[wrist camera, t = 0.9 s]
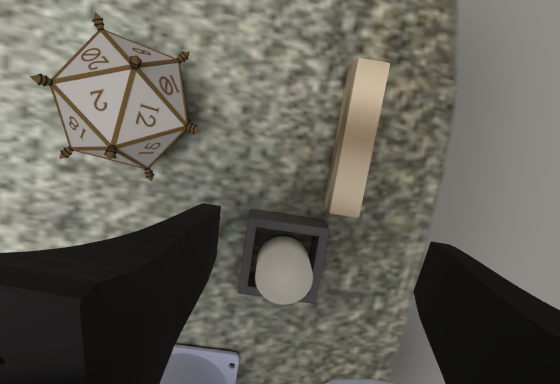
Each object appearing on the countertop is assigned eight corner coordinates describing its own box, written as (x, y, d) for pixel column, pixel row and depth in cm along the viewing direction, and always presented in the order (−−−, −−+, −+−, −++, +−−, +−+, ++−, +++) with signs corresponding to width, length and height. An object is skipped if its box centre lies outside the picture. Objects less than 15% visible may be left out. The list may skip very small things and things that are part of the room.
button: (303, 287, 25) (307, 308, 22) (254, 280, 25) (251, 300, 22) (312, 239, 24) (317, 254, 22) (261, 232, 24) (259, 246, 21)
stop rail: (349, 208, 26) (358, 217, 23) (323, 203, 26) (329, 213, 23) (376, 71, 25) (390, 63, 22) (348, 66, 25) (358, 57, 22)
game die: (140, 112, 29) (-13, 70, 20) (205, 35, 25) (49, -56, 16) (175, 206, 26) (11, 202, 17) (255, 135, 22) (94, 85, 13)
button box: (311, 288, 28) (315, 304, 25) (241, 278, 27) (237, 293, 25) (324, 219, 27) (329, 229, 24) (251, 209, 26) (248, 217, 24)
